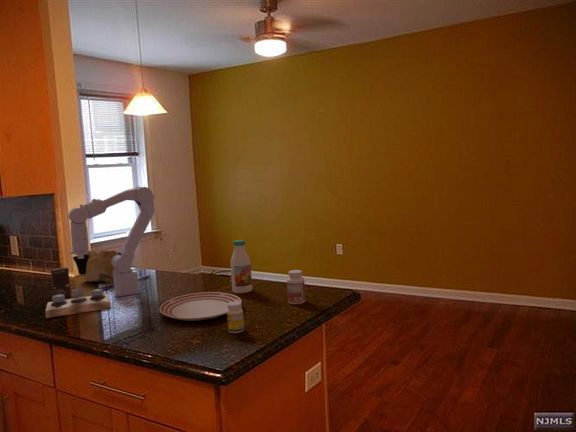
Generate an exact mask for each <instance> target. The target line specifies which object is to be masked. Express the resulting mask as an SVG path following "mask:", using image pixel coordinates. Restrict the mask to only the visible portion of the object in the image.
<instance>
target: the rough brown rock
mask: <svg viewBox="0 0 576 432" xmlns="http://www.w3.org/2000/svg"><path fill="white" fill-rule="evenodd" d="M117 253H118V251H117V250H99V251H98V252H97V251H94V250H93V251H92V250H89V253H87V254H88V255H89V259H88V261H87V266H86V274H84V275H82V276H83V279H84V280H85V281H86V282H89V283H91V282H104V283H106V284H108V285H111V284H114V279H113V271H114V267H113V266H112V264H111V260H112V258H113V256H115V255H116V254H117ZM87 254H85V255H87Z"/></svg>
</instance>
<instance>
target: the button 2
mask: <svg viewBox="0 0 576 432" xmlns="http://www.w3.org/2000/svg"><path fill="white" fill-rule="evenodd" d="M90 292H91V294H90V295H91V296H92V297H100V296H103V294H104V290H103V288H96V289H92V290H91V291H90Z"/></svg>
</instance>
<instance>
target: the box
mask: <svg viewBox="0 0 576 432" xmlns="http://www.w3.org/2000/svg"><path fill="white" fill-rule="evenodd" d="M69 273H70V272H69V268H68V266H63V267H55V268H50V275H51V276H50V277H51V286H52V287H51V288H52V296H55V295H60V294H63V295H64V296H65V299H71V296H72V294H71V284H70V276H69V275H70V274H69Z"/></svg>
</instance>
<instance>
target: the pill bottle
mask: <svg viewBox="0 0 576 432" xmlns="http://www.w3.org/2000/svg"><path fill="white" fill-rule="evenodd" d="M302 275H303V271H302V270H300V269H293V270H289V271H288V278H287V279H286V290H287V302H288V304H290V305H302V304H304V303H305V302H306V287H305V285H306V284H305V278H304V277H303V276H302Z"/></svg>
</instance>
